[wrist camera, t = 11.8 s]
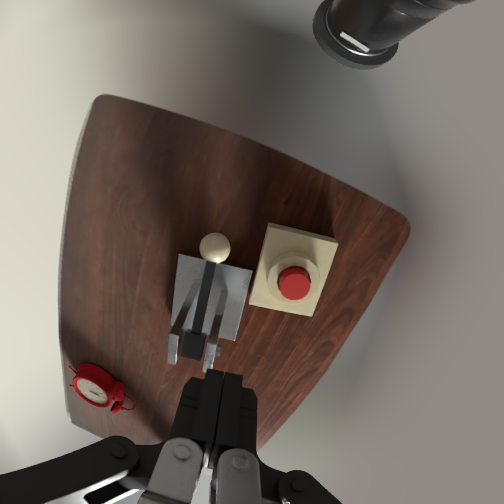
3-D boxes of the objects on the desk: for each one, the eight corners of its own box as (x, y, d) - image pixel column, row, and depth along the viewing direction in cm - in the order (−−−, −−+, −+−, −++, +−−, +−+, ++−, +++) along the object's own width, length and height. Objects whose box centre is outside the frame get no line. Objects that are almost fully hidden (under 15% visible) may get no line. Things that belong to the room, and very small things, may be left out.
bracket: (181, 250, 38) (147, 296, 26) (253, 266, 38) (249, 320, 26) (172, 321, 42) (146, 378, 30) (235, 336, 43) (227, 398, 31)
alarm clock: (65, 362, 43) (124, 409, 42) (84, 347, 49) (141, 389, 47) (67, 390, 46) (120, 431, 45) (83, 376, 52) (134, 414, 51)
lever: (205, 232, 33) (202, 226, 30) (233, 239, 33) (233, 233, 30) (179, 349, 31) (174, 355, 28) (207, 355, 32) (205, 363, 28)
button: (283, 263, 34) (284, 270, 32) (311, 270, 34) (314, 277, 33) (275, 289, 36) (276, 297, 34) (303, 295, 36) (305, 303, 34)
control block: (268, 222, 36) (269, 230, 32) (334, 238, 37) (342, 248, 33) (249, 296, 40) (248, 311, 36) (309, 308, 40) (313, 324, 37)
